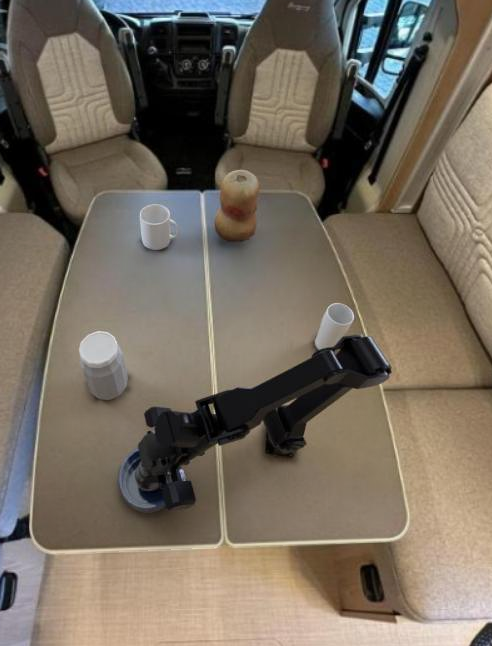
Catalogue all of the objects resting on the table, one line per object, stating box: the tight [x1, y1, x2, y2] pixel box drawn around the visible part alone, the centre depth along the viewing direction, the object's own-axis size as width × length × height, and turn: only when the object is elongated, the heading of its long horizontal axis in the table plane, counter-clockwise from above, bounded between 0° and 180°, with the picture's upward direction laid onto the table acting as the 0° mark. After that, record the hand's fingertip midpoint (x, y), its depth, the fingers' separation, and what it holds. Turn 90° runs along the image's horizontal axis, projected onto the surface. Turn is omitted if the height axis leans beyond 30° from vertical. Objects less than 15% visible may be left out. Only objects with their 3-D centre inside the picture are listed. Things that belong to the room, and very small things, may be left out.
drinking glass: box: [314, 302, 355, 350], centre depth 108 cm, size 7×7×15 cm
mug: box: [139, 203, 180, 251], centre depth 133 cm, size 10×12×12 cm
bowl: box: [118, 448, 166, 514], centre depth 88 cm, size 12×12×6 cm
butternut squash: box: [213, 169, 260, 243], centre depth 130 cm, size 14×13×25 cm
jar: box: [78, 331, 129, 401], centre depth 97 cm, size 10×10×18 cm
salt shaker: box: [135, 463, 160, 493], centre depth 84 cm, size 6×6×12 cm
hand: (141, 473), depth 83 cm, fingers closed on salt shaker, 3 cm apart
